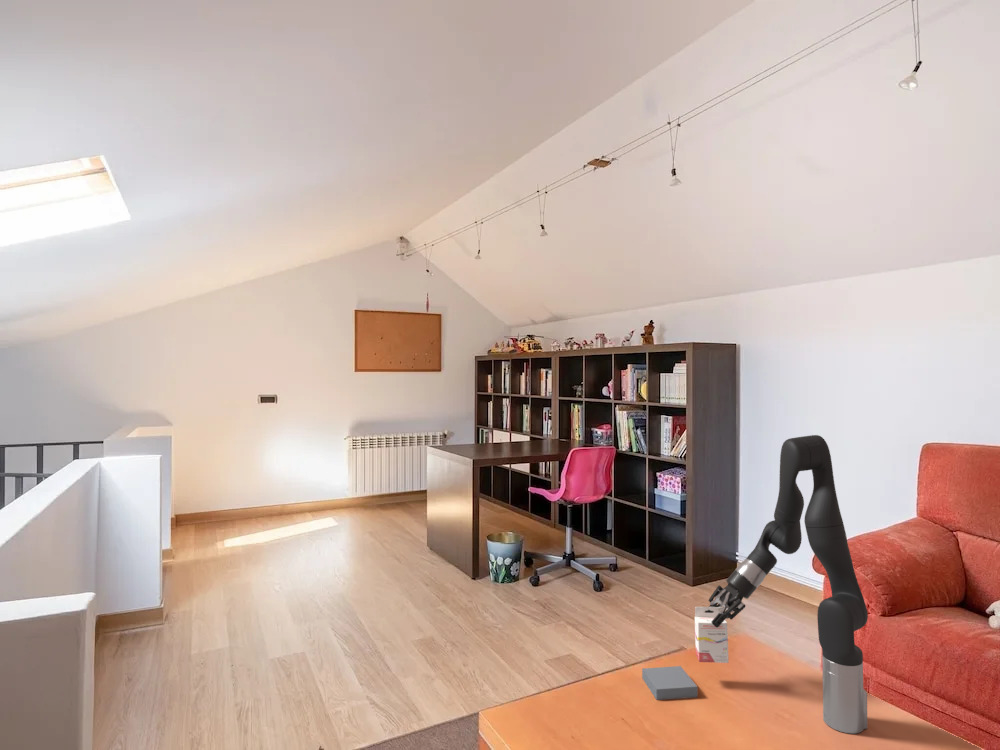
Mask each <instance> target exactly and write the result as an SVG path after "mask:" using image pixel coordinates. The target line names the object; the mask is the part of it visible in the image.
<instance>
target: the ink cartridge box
mask: <svg viewBox="0 0 1000 750" xmlns="http://www.w3.org/2000/svg"><path fill="white" fill-rule="evenodd" d="M721 609H722V607H709V606H695V607H694V637H695V640H694V641H695V644H694V645H695V657H696V658H697V660H698V662H699V663H719V664H720V663H721V664H722V663H723V664H728V663H729V639H728V638H729V637H728V636H729V635H728V622H727V620H726V619H725V620H724V621H723V622H722V623H721V625H720V626H719V627H718V628H717V627H715V626H714V625H713V624H712V620H713V619H714V618H715V617H716V616H717V615H718V613H720V611H721ZM707 610H710V611H714V612H713V613H705V611H707ZM720 614H721V613H720Z"/></svg>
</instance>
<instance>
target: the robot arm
mask: <svg viewBox="0 0 1000 750" xmlns="http://www.w3.org/2000/svg"><path fill="white" fill-rule="evenodd" d="M779 459H780V460H779V486H778V487H779V490H778V497H777V501H776V504H775V508H774V511H773V512H774V513H773V514H774V515H773V520H770V521H768V522H767V523H766V524H765V525H764V527H763V530H762V532H761V536H760V538H759V539H758V541H757V544H756V545H755V547H754V548H753V550H752V551H751V552H750V553H749V554H748V556H746V558H745V559H743V561H741V562H740V563H739V565H738V566H737V567H736V568H735V570H733V572H732V573H731V574H730V575H729V576H728V577H727V579H726V583H727V585H726V586H725V587H722V586H721V585H717V587H716V589H714V591H713V593H712V594H711V595H710V596H709V599H708V602H709V606H708V607H722V609H721V611H720V613H721V614H720V613H718V615H717V616H716V617H715V618H714V619H713V620H712V624H713V625H714V626H715V627H717V628H718V627H719V626H720V625H721V623H722V622H723V621H724V620H725V621H726V620H728V619H730V620H731V621H732V620H733V619H734V618H735V617H736V616H738V615H739V614H740V613H741V612H742V611H743V610H744V609H745V608H746V604H745V603H744V602H743V601H742V600H743V598H744V599H746V600H748V599H749V598H750V597H751V595H753V593H754V592H755V591H756V590H757V589H758V587H759V586H760V585H761V584H762V583H763V581H764V580H765V578H766V577H767V576H768V574H769V573H770V572H771V571H772V570H773V568H775V566H776V565H777V562H778V559H777V558H776V555H774V553H773V552H771V551H770V549H769V548H770V545H773V546H774V547H775V548H777V549H778V550H779V551H781V552H782V553H784V554H787V555H793V554H795V553H797V551H798V550H799V549H800V547H801V544H802V536H803V535H802V529H801V528H802V526H801V519H802V515H803V511H804V507H805V500H804V499H805V498H804V496H803V493H802V492H801V490H800V488H799V486H798V484H797V477H798V475H799V474H800V472H805V471H806V472H807V471H811V472H812V478H813V479H812V480H813V490H812V493H811V497H810V499H809V502H808V505H807V508H806V511H805V515H804V527H805V532H806V535H807V539H808V540H807V541H808V542H809V546H810V548H811V551H812V552H813V554H814V555H815V557H816V558H817V559H818V561H819V562H820V563H821V565H822V566H823V568H824V569H825V572H826V574H827V577H828V581H829V585H830V590H831V596H830V597H827V598H824V599H823V600H822V601H821V602H820V603H819V604H818V607H817V613H816V615H817V619H816V620H817V632H818V642H819V646H820V647H821V655H822V661H821V662H822V718H823V721H824V723H825V724H826V725H827V726H828V727H830V728H831V729H833V730H835V731H838V732H841V733H845V734H859V733H862V732H863V730H867V729H868V692H867V691H866V690H865V689H864V654H863V651H862V649H861V648H860V647H859V646H858V645H856V644H855V632H856V631H858V630H860V629H862V628H863V627H865V626H866V624H867V623H868V618H869V613H868V609H867V605H866V602H865V599H864V596H863V594H862V589H861V588H860V584H859V582H858V579H857V576H856V572H855V568H854V565H853V560H852V556H851V551H850V547H849V543H848V539H847V533H846V529H845V525H844V520H843V517H842V514H841V508H840V506H839V500H838V495H837V490H836V485H835V477H834V470H833V469H834V468H833V463H832V456H831V451H830V447H829V445H828V443H827V441H826V439H824V438H823V437H822V436H821V435H818V434H813V435H812V434H811V435H805V436H795V437H791V438H788V439H785V441H783V443H782V445H781V450H780V456H779ZM704 612H705V613H713V612H714V611H710V610H707V611H704Z"/></svg>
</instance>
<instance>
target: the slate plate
mask: <svg viewBox="0 0 1000 750" xmlns="http://www.w3.org/2000/svg"><path fill="white" fill-rule="evenodd" d="M641 672H642V673H641V676H642V680H643V682H644V683H645V685H646V686H647V688H648V689H649V691H650V693H652V695H653V697H654V698H655V699H656V700H657V701H659V700H660V701H662V700H673V699H674V700H675V699H689V698H690V699H691V698H698V694H699V693H698V686H697V684H696V683H695V682H694V681H693V679H692V678H691V677H690V676H689V675H688V673H687V672H686V671H685V670H684V669H683V667H682V666H681V665H677V666H676V665H675V666H662V667H659V666H658V667H647V668H646V667H645V668H641Z"/></svg>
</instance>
